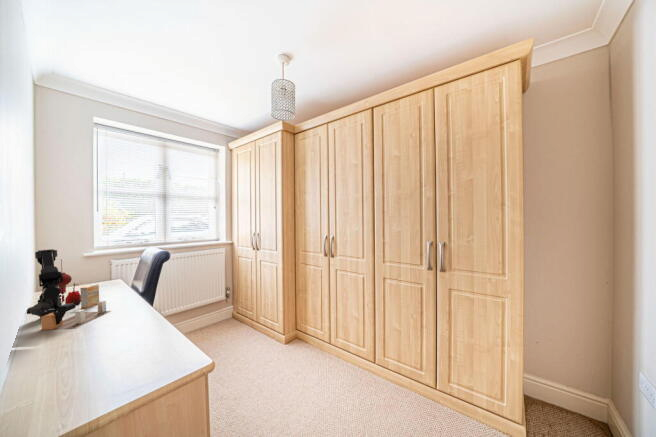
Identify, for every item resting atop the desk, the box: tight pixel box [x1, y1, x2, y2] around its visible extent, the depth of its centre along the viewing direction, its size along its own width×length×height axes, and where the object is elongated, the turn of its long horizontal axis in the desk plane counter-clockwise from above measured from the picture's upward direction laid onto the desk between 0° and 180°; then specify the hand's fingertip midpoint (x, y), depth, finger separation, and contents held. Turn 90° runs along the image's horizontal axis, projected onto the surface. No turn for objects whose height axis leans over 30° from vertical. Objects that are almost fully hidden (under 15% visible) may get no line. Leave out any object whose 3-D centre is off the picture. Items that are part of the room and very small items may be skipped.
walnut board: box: [39, 310, 112, 332], centre depth 141 cm, size 17×24×1 cm
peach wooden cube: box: [40, 313, 63, 331], centre depth 132 cm, size 5×5×7 cm
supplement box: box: [80, 283, 100, 309], centre depth 167 cm, size 8×5×13 cm, turn 179°
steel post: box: [97, 300, 107, 313], centre depth 151 cm, size 3×3×8 cm
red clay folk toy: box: [64, 282, 81, 306], centre depth 170 cm, size 8×7×15 cm
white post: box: [75, 308, 86, 324], centre depth 137 cm, size 3×3×8 cm
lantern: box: [58, 260, 73, 303], centre depth 177 cm, size 10×10×30 cm
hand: (52, 324), depth 132 cm, fingers closed on peach wooden cube, 5 cm apart
